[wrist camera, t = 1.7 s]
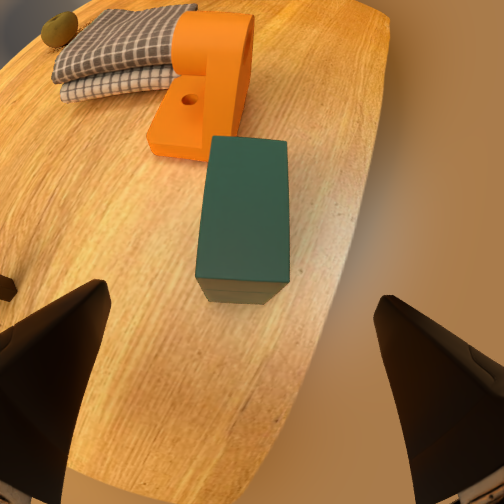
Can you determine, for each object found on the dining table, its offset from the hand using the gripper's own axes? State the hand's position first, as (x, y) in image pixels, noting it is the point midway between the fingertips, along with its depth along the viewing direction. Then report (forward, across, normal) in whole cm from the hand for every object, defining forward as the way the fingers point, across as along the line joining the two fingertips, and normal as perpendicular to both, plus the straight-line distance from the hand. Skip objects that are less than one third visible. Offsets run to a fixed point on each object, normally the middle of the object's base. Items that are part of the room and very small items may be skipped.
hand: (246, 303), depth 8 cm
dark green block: (+12, 0, +4) cm, 13 cm away
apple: (+40, +36, -23) cm, 59 cm away
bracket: (+21, +4, -5) cm, 22 cm away
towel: (+29, +15, -13) cm, 35 cm away
